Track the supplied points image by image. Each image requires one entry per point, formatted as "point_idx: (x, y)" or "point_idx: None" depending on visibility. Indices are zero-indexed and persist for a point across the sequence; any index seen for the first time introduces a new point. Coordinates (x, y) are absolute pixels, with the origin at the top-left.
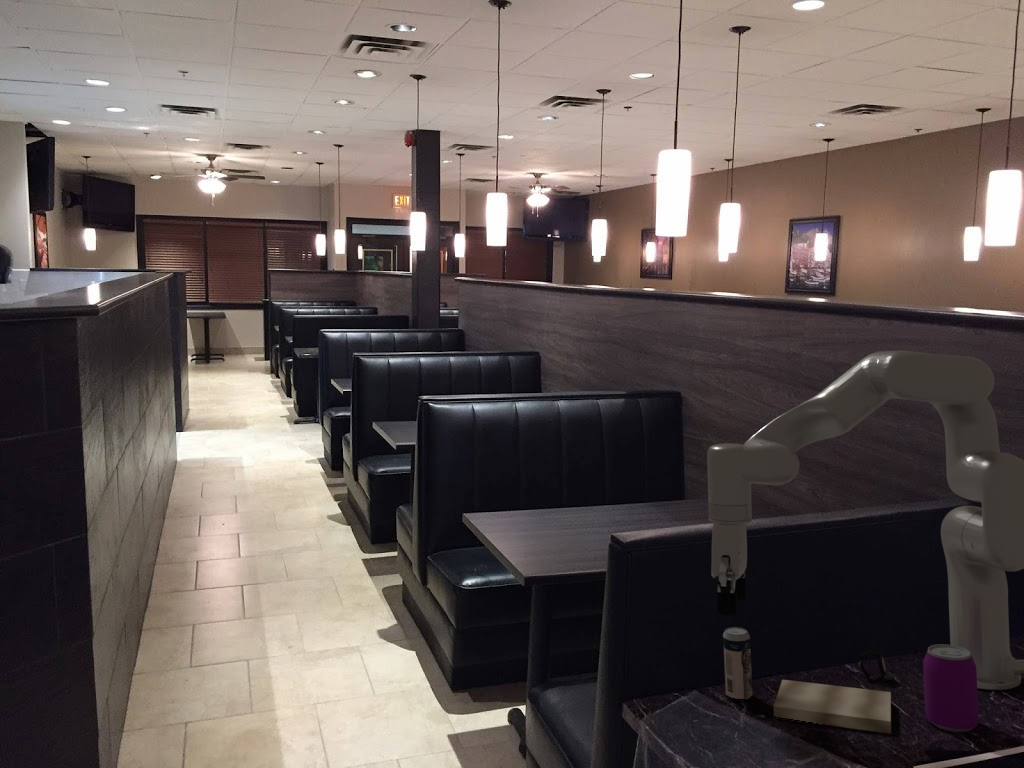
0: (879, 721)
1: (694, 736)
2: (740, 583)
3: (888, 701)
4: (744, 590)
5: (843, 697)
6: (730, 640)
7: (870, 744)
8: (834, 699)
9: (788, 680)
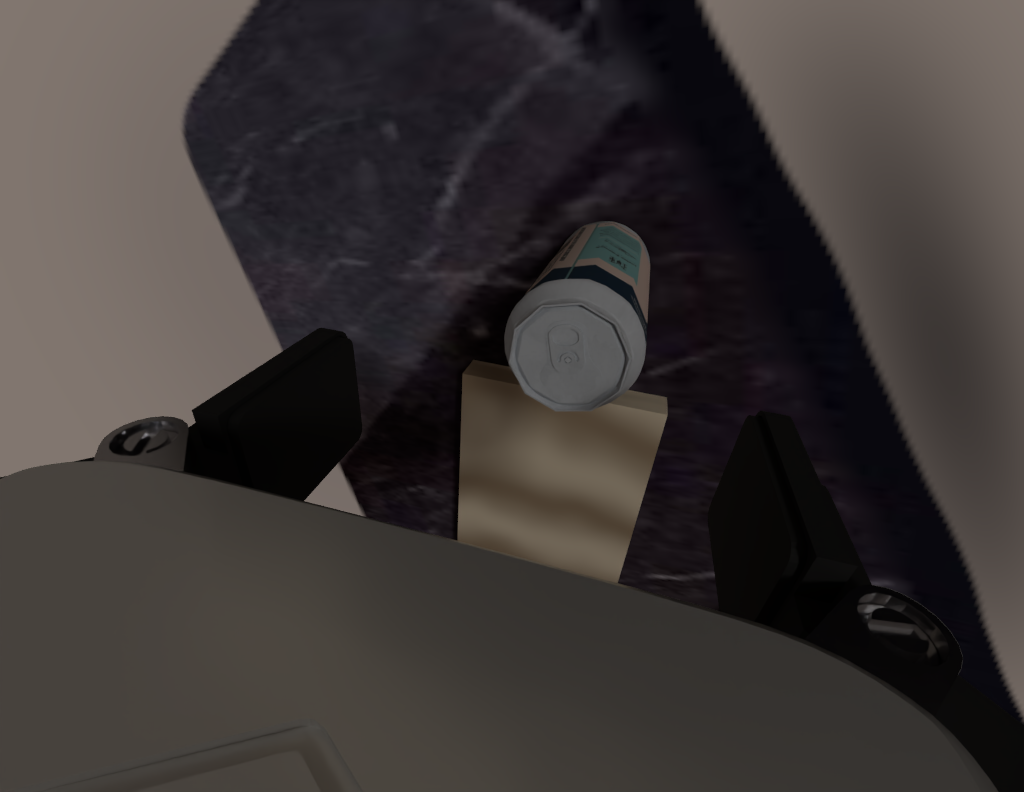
0: None
1: (295, 144)
2: (732, 604)
3: None
4: (717, 572)
5: (558, 529)
6: (509, 318)
7: (411, 514)
8: (542, 510)
9: (661, 430)
